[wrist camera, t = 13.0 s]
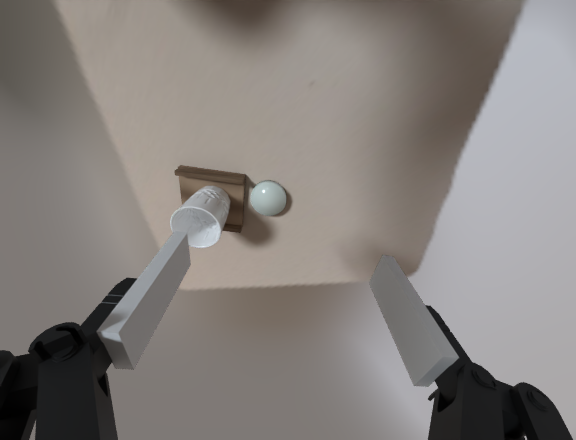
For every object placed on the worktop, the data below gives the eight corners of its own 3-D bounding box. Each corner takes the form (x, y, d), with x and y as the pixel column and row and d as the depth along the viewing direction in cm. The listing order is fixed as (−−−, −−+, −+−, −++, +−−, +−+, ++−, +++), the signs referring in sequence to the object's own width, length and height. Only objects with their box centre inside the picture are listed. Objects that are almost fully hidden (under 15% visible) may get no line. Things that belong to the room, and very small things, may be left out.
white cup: (218, 175, 40) (200, 198, 31) (241, 208, 44) (230, 237, 35) (184, 192, 42) (159, 219, 33) (209, 223, 45) (192, 254, 37)
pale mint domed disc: (253, 177, 42) (251, 181, 40) (288, 182, 43) (288, 186, 41) (250, 208, 45) (249, 213, 44) (283, 213, 46) (283, 217, 44)
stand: (180, 165, 40) (174, 169, 38) (245, 174, 41) (242, 179, 39) (186, 219, 46) (181, 226, 44) (242, 226, 47) (240, 233, 45)
